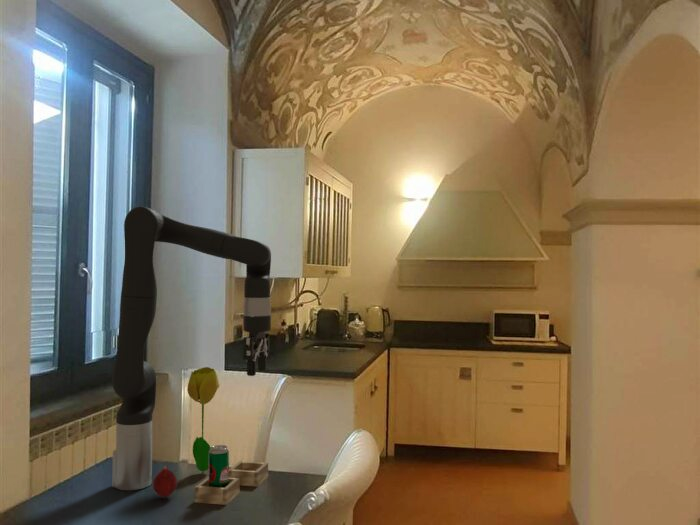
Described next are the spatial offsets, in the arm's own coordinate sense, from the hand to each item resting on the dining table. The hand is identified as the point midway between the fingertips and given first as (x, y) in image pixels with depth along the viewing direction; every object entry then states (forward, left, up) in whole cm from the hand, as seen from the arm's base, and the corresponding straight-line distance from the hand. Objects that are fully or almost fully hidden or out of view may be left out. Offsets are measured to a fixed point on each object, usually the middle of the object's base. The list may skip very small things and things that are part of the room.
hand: (256, 373), depth 168 cm
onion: (-19, -15, -30) cm, 39 cm away
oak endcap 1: (-6, -12, -30) cm, 33 cm away
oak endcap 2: (-3, +2, -30) cm, 30 cm away
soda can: (-6, -12, -30) cm, 32 cm away
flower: (-18, +5, -30) cm, 36 cm away
